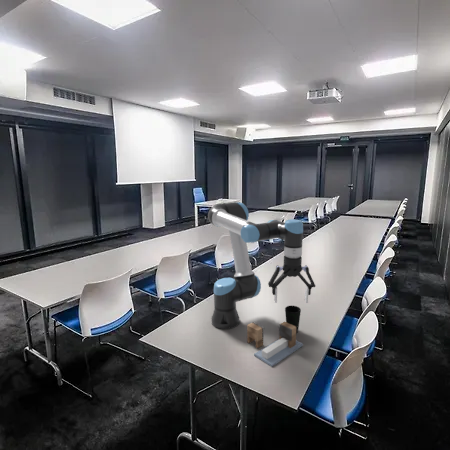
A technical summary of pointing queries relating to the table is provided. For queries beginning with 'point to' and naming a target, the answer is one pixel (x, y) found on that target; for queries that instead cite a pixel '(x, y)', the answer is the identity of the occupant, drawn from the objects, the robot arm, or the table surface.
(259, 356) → the rail
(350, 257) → the table surface
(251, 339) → the two-tone tabbed box
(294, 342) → the fixed jaw
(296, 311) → the cup
